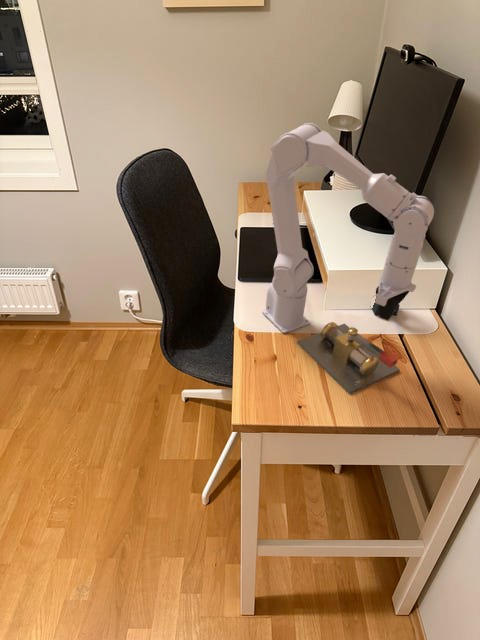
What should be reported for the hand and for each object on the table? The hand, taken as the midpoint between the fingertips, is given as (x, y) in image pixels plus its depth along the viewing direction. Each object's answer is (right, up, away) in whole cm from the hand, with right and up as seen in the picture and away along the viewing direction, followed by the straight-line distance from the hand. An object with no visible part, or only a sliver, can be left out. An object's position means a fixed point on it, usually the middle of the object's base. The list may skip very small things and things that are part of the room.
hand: (384, 317), depth 96 cm
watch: (+6, +2, +19) cm, 20 cm away
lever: (-4, -7, -2) cm, 8 cm away
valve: (-7, -9, +4) cm, 12 cm away
